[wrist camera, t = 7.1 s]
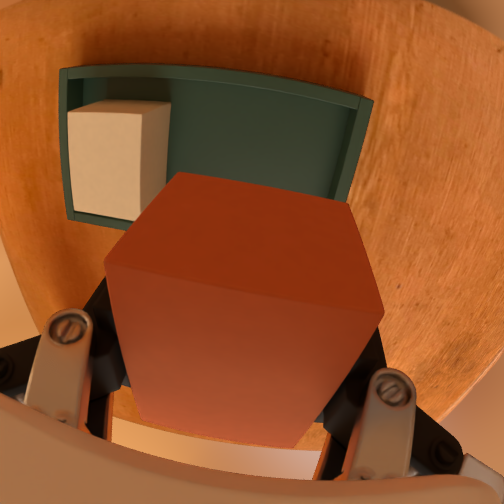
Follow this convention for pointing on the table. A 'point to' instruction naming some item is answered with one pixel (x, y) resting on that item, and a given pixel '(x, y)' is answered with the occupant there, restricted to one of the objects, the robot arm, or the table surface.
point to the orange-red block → (240, 307)
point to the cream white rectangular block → (118, 155)
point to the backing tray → (230, 126)
